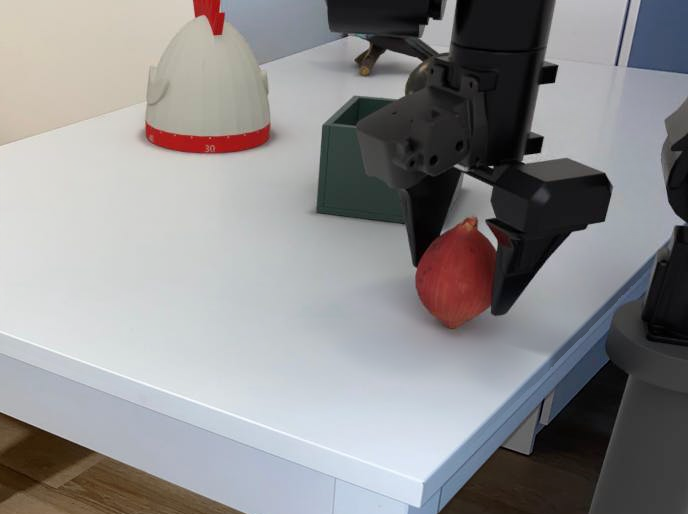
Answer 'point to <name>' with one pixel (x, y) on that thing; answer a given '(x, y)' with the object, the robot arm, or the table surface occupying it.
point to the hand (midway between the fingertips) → (457, 289)
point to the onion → (457, 274)
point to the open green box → (355, 169)
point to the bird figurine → (391, 49)
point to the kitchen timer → (207, 89)
